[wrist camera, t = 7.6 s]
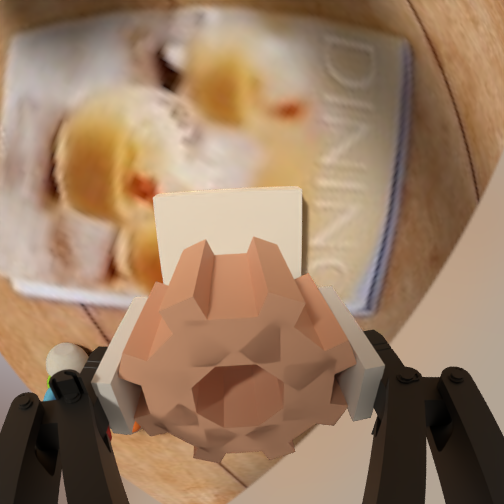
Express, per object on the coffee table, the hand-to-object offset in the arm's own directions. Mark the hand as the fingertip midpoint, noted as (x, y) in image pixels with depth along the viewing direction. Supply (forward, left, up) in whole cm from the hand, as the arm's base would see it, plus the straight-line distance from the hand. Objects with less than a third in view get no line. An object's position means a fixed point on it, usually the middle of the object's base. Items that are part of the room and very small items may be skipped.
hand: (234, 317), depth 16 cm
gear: (0, 0, 0) cm, 0 cm away
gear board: (0, -5, -7) cm, 8 cm away
